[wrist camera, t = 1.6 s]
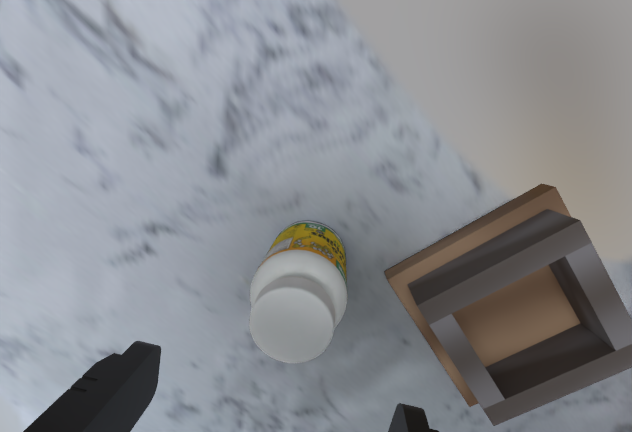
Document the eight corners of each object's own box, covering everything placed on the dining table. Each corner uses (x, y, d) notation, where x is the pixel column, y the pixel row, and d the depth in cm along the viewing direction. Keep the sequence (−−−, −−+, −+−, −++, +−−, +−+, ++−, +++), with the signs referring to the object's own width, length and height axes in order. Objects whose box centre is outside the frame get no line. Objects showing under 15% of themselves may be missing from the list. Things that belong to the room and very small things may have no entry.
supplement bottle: (259, 246, 25) (209, 313, 15) (315, 204, 24) (299, 249, 14) (303, 300, 25) (281, 395, 16) (360, 261, 24) (372, 339, 15)
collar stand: (614, 322, 24) (675, 364, 20) (462, 391, 26) (486, 443, 22) (541, 183, 22) (590, 195, 18) (384, 271, 24) (393, 300, 20)
